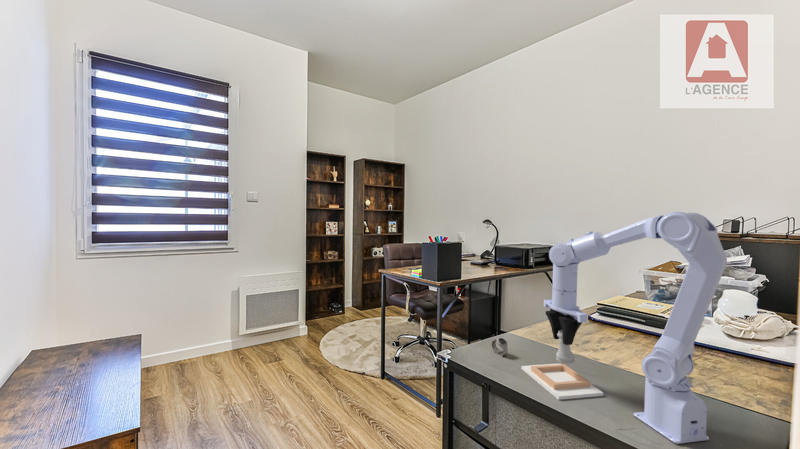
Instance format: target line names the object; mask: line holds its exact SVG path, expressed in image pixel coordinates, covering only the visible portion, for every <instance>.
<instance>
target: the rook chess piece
mask: <svg viewBox="0 0 800 449" xmlns="http://www.w3.org/2000/svg"><path fill="white" fill-rule="evenodd" d="M557 336H558V337H559V339H557V341H558V350H557V352H556V354H555V355H556V357H555V359H556V361H557V363H558V364H559V363H560V364H564V365H566V366H568V365H573V364H574V363H575V356H574V353H573V352H572V350H571V345H565V344H563V337H562V330H559V331H558V334H557Z"/></svg>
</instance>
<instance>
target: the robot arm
mask: <svg viewBox="0 0 800 449" xmlns="http://www.w3.org/2000/svg"><path fill="white" fill-rule="evenodd" d="M584 234H585V235H583V236H581V237H578V238H574V239H573V238H570V239H567V242H566V243H563V242H562V243H561V242H560V243H559V242H558V243H555V244H554V245H553V246H551V248H550V249H549V252H548V258H549V260H550V262H551V263H552V287H551V288H552V289H551V291H552V292H551V299H543V307H545V308H549V309H550V310H545V316H546V317H547V319H548V321H549V325H550V327H551V331H552V336H553V339H554V340H559V337H558V336H557V334H558V331H559V330H562V337H563V344H565V345H570V346H571V345H573V343H574V340H575V337H576V334H577V332H578V330H579V328H580V327H581V325H583V323H588V313H585V312H583V311H582V310H581V309H580V306H578V305H577V298H578V297H577V296H578V292H577V291H578V269H579V268H578V267H579V264H580V263H582V262H586V261H589V260H592V259H596V258H599V257H603V256H606V255H608V254H609V252H610V250H611V248H613V247H616V246H620V245H623V244H624V245H625V244H627V243H631V242H634V241H639V240H642V239H645V238H649V239H655V240H656V239H657V240H659V239H662V240H663V241H665V242H666V243H668V244H669V245H671V246H672V247H674V248H675V249H677V250H678V251H679V253H681V255H682V256H683V257H684V258H685V260H686V262H688V266H687V269H686V272H685V275H684V278H683V279H682V283H681V285H680V288H679V291H678V293H677V296H676V298H675V301H674V303H673V305H672V309H671V311H670V314H669V316H668V318H667V321H666V325H665V326H664V329H663V331H662V335H661V336H660V338H659V339H658V340H657V342H655V345H653V349H652V350H651V352H650V353H649V354H647V355H646V356H644V357H643V358H642V361H641V370H642V372H643V374H644V376H645V379H644V380H645V382H644V404H643V405H644V406H643V407H644V408H643V409H644V410H643V411H638V412H637V411H636V412H633V414H632V415H633V416H634V417H636V418H637V419H638V420H640V421H641V422H643V423H644V424H646V425H647V426H649V427H650V428H652V429H654V431H656V432H657V433H659V434H661V435H662V436H664V438H666V439H668V440H669V441H671V442H672V443H674V444H677V445H678V444H686V443H688V444H689V443H693V442H694V443H695V442H703V441H709V440H710V437H709V436H708V435H707V418H708V409H707V403H705V401H704V400H703V399H702V398H701V397H699V396H698V395H696V394H695V393H694V392H693V391H692V389H691V384H690V381H689V380H688V377H687V376H689V375H690V374H691V373H692V372H693V371H694V367H695V364H694V359H693V354H694V352H695V342H696V339H697V337H698V334H699V331H700V329H701V327H702V325H703V322H704V319H705V317H706V314H707V312H708V310H709V308H710V305H711V302H712V300H713V298H714V295H715V292H716V291H717V288H718V287H719V286H718V285H719V283H720V280H721V278H722V276H723V273H724V271H725V269H726V267H727V264H728V262H727V261H728V259H727V255H726V253H725V250H724V248H723V246H722V243H721V239H720V237H719V233H718V228H717V227H716V226H715V225H714V224H713V223H712V222H711V221H710V220H709V218H707V217H706V216H704V215H702V214H701V213H697V212H683V211H672V212H669V213H666V214H665V215H663V214H662V215H656V216H652V217H649V218H645V219H642V220H640V221H637V222H634V223H632V224H629V225H626V226H624V227H622V228H620V229H616V230H614V231H611V232H608V233H606V234H603V233H602V232H599V231H594V232H593V231H588V232H585V233H584Z"/></svg>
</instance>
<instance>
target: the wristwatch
mask: <svg viewBox="0 0 800 449" xmlns="http://www.w3.org/2000/svg"><path fill="white" fill-rule="evenodd" d="M490 343H491V348H492V350H493V352H494V353H495V354H496V353H497V355H498V354H499V355H498V356H500V355H501V356H500V357H505V356H507V354H508V352H509V351H508V341H507V340H506V339H505V338H504V337H496V338H494V339H493V340H492V341H491V342H490ZM496 344H497V345H498V346H499V347H500V348H501V349H502V351H501V350H500V349H499V348H498V347H497V345H496Z"/></svg>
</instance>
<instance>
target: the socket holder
mask: <svg viewBox="0 0 800 449" xmlns="http://www.w3.org/2000/svg"><path fill="white" fill-rule="evenodd" d="M520 368H521V370H522V371H523V372H525V373H526V374H527V375H528V376H529V377H531V378H532V379H533V380H534V381H535V382H537V383H538V384H539V385H540V386H541V387H543V388H544V389H545V390H546V391H547V392H548V393H550V395H552V396H553V397H554V398H556V399H557V400H559V401H560V400H573V399H582V398H593V397H604V392H603V391H602V390H601V389H599V388H597V387H596V386H594V385H593V384H592V383H591V381H590V380H588V379H587V378H586V377H584V376H583V375H581V374H579V373H578V372H576V371H575V370H573V369H572V368H571V367H569V366H568V365H565V364H561V363H559V362H558V363H549V364H547V363H546V364H544V363H543V364H532V365H531V364H530V365H521V367H520Z"/></svg>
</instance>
